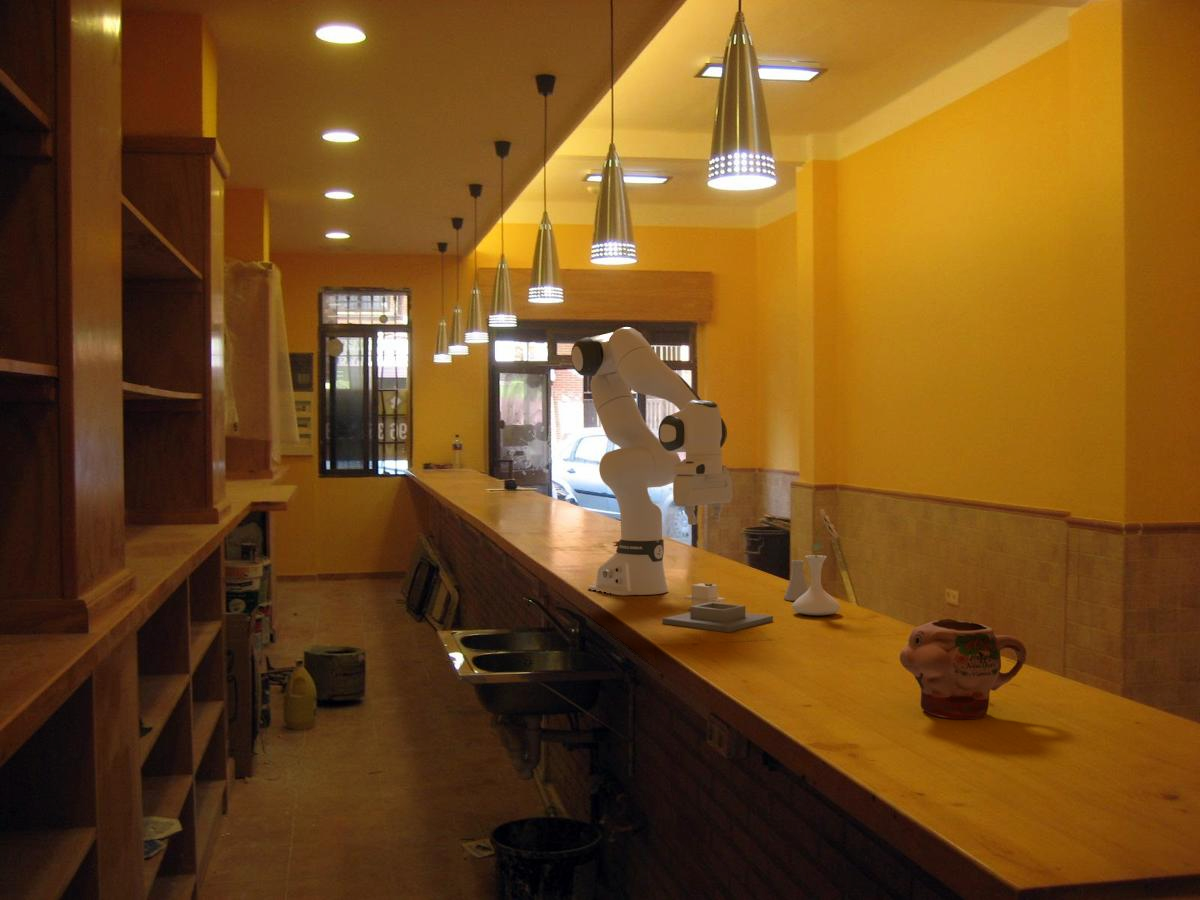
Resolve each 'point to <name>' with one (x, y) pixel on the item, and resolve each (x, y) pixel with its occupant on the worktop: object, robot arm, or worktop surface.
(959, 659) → the sculpted ceramic mug
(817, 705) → the worktop surface
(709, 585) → the block
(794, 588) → the flask
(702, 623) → the plate
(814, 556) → the flower in vase
